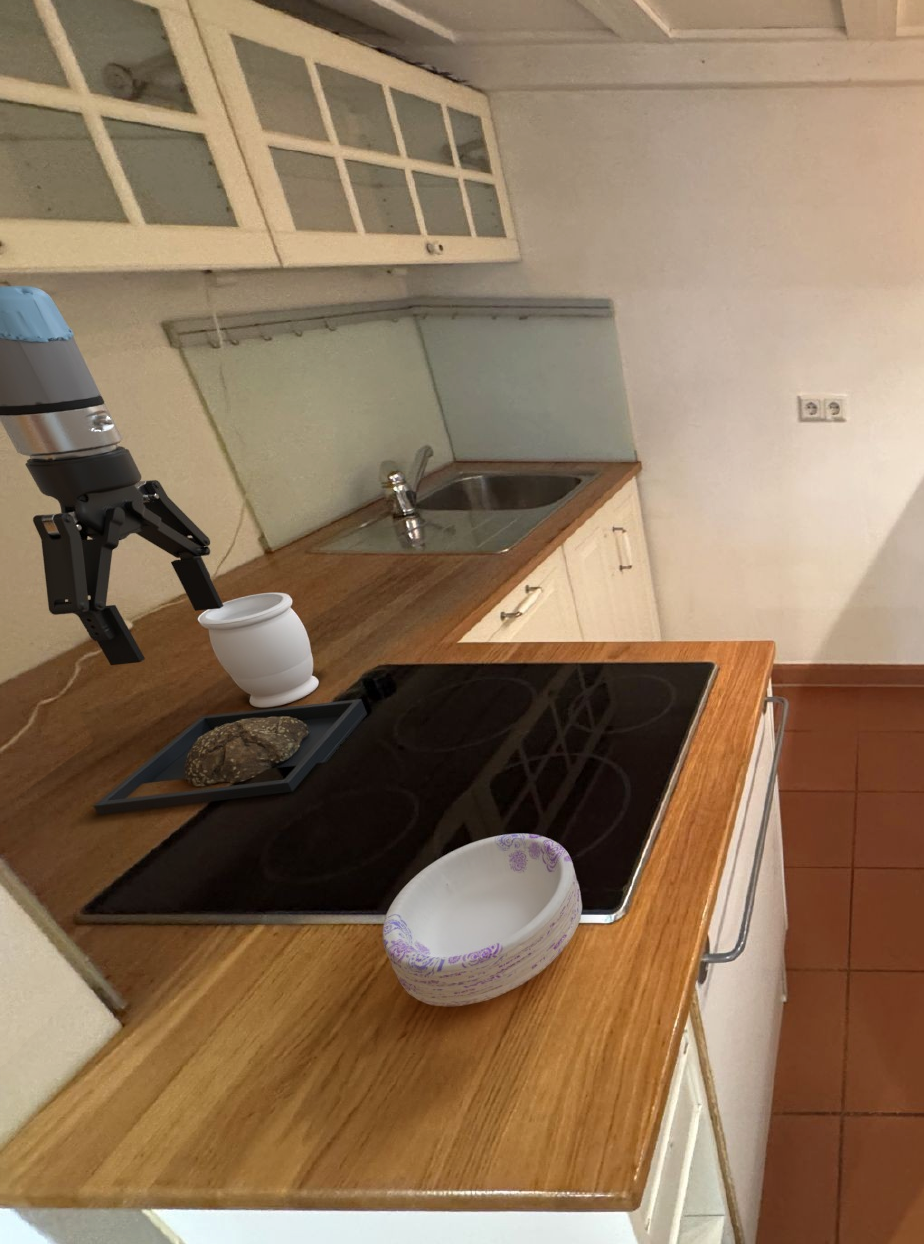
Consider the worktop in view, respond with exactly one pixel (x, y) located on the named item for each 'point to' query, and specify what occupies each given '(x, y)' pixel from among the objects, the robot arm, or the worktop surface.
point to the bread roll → (243, 749)
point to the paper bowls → (483, 919)
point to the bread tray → (324, 738)
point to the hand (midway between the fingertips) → (172, 633)
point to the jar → (263, 648)
